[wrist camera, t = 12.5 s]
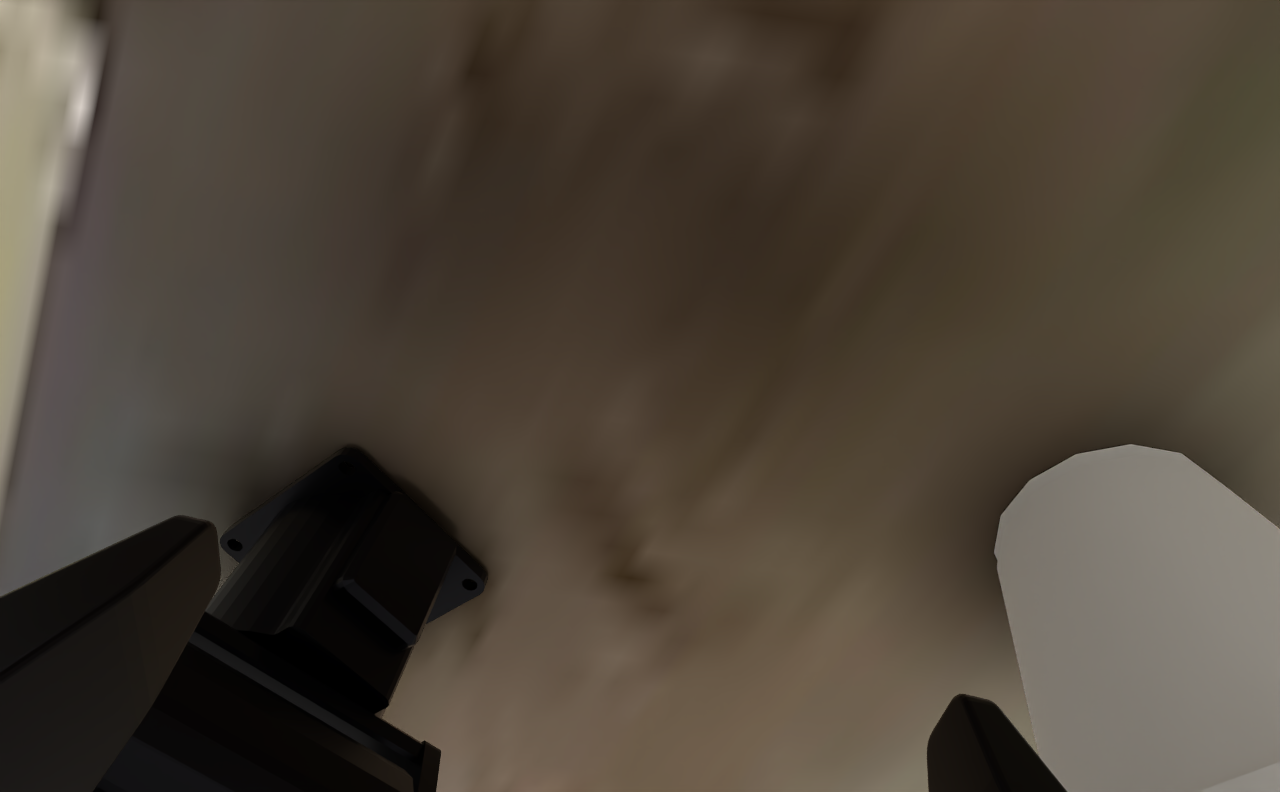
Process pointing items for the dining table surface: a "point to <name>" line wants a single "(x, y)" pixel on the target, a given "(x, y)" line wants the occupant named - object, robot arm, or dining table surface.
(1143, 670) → the foam cup
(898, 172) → the dining table surface
